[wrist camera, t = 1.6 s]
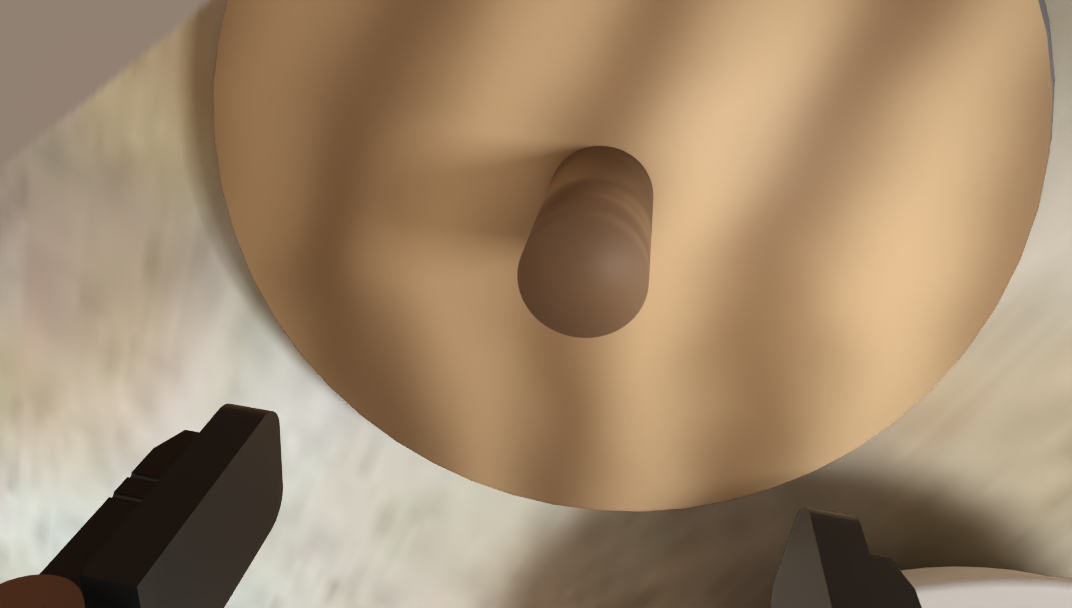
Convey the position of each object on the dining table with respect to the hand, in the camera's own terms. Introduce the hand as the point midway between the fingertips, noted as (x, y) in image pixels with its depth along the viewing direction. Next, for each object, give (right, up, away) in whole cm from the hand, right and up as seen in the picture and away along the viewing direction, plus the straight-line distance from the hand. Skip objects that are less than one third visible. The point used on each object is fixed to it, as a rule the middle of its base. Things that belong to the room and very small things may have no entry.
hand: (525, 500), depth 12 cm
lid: (+2, +7, +14) cm, 15 cm away
